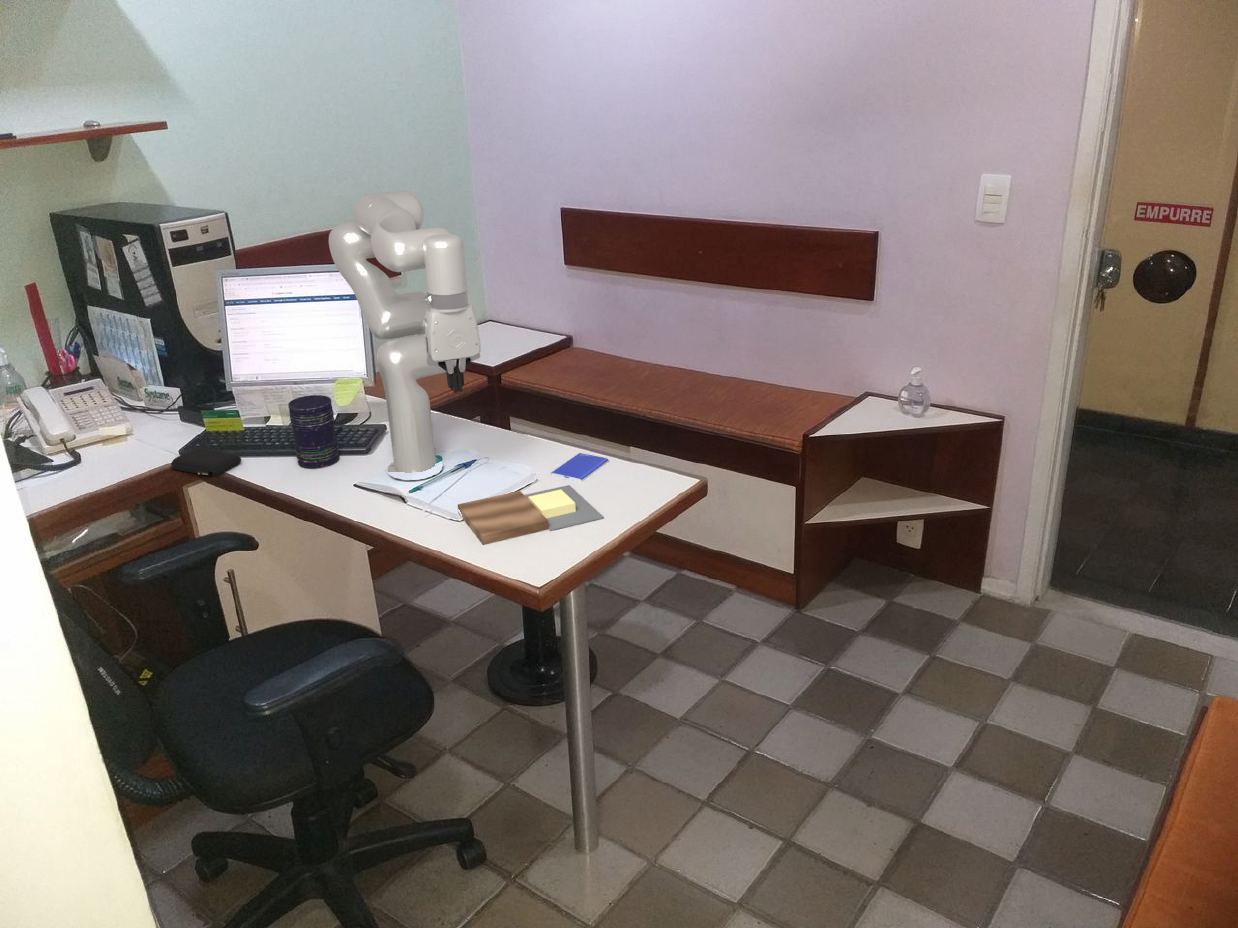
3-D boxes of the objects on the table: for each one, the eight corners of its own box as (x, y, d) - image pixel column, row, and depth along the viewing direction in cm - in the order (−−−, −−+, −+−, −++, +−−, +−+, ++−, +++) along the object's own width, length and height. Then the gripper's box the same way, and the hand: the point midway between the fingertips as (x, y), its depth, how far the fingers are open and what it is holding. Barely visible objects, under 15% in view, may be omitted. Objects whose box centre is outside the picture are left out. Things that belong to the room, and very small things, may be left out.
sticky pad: (528, 505, 206) (528, 496, 206) (561, 497, 209) (561, 489, 209) (542, 519, 200) (541, 510, 199) (575, 511, 203) (575, 503, 202)
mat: (518, 497, 211) (518, 496, 211) (569, 486, 215) (569, 484, 215) (550, 531, 196) (550, 529, 196) (604, 518, 201) (604, 517, 200)
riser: (458, 512, 204) (457, 504, 203) (520, 499, 210) (519, 490, 209) (483, 544, 191) (482, 535, 190) (548, 529, 197) (548, 520, 196)
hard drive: (578, 452, 231) (550, 471, 221) (608, 458, 227) (581, 478, 217) (578, 458, 231) (551, 477, 221) (608, 464, 228) (581, 484, 218)
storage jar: (335, 468, 227) (326, 408, 221) (293, 470, 227) (282, 410, 221) (343, 451, 236) (335, 394, 230) (303, 453, 236) (293, 395, 230)
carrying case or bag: (164, 473, 227) (214, 482, 222) (161, 461, 226) (211, 469, 221) (197, 456, 236) (246, 464, 231) (195, 444, 235) (244, 452, 230)
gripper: (415, 309, 181) (425, 402, 188) (491, 299, 187) (498, 389, 194) (405, 301, 187) (414, 390, 194) (478, 291, 193) (485, 379, 200)
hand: (456, 390), depth 194 cm, fingers closed
